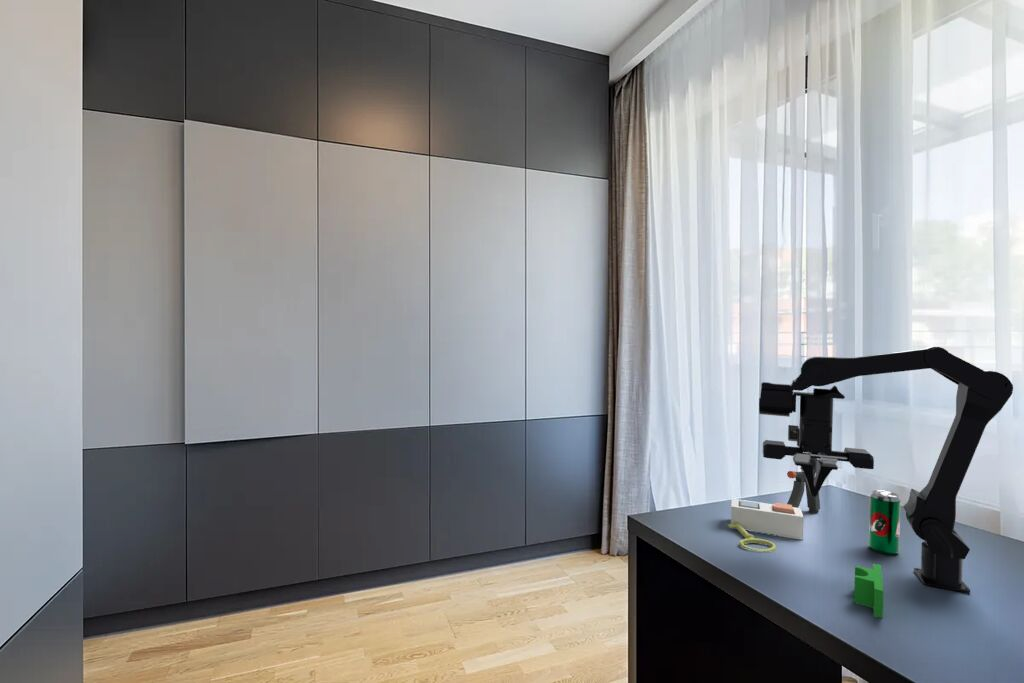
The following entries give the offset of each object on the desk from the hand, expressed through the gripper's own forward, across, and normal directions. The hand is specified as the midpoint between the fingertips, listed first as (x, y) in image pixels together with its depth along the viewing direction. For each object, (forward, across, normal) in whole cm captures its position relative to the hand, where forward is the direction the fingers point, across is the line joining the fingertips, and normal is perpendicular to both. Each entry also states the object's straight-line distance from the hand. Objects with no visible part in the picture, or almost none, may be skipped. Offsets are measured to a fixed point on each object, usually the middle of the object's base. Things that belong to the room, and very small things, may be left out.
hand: (813, 496), depth 101 cm
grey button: (+11, +12, -12) cm, 20 cm away
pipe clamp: (+12, -6, +16) cm, 21 cm away
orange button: (+11, +4, -12) cm, 16 cm away
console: (+12, +8, -12) cm, 18 cm away
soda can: (+12, -14, -10) cm, 21 cm away
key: (+13, +11, -2) cm, 17 cm away
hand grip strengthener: (+12, -1, -26) cm, 29 cm away
